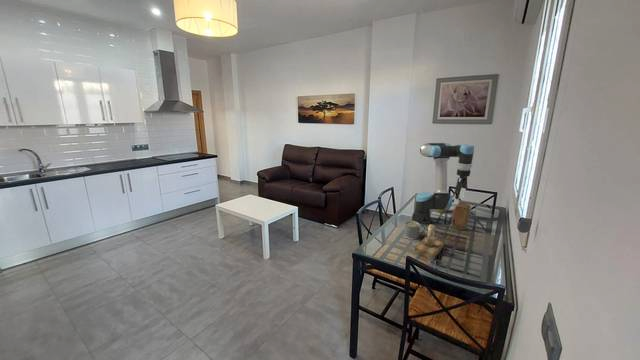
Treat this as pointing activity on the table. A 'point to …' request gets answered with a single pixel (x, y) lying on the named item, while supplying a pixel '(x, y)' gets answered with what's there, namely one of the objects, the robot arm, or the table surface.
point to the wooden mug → (442, 210)
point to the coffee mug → (412, 229)
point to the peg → (430, 235)
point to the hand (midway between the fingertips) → (459, 200)
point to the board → (429, 248)
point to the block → (460, 216)
